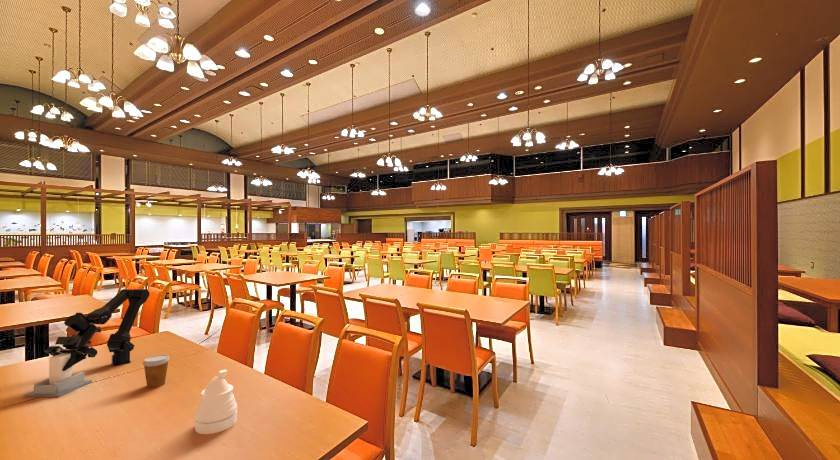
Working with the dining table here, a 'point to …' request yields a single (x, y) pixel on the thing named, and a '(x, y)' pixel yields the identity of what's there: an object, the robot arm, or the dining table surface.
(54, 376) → the cream block
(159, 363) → the disposable coffee cup
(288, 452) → the dining table surface
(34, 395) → the slot rack
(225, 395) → the honey pot
